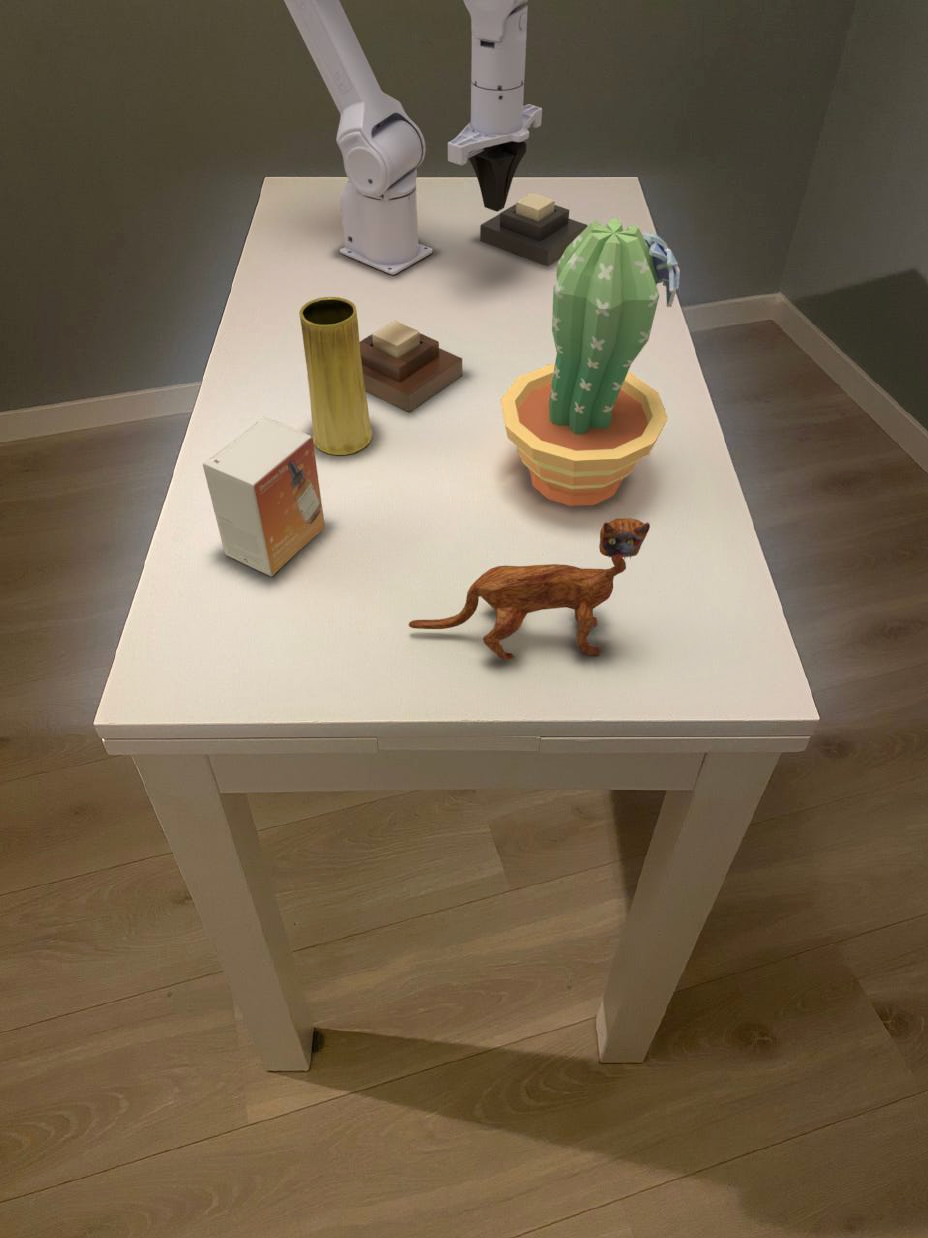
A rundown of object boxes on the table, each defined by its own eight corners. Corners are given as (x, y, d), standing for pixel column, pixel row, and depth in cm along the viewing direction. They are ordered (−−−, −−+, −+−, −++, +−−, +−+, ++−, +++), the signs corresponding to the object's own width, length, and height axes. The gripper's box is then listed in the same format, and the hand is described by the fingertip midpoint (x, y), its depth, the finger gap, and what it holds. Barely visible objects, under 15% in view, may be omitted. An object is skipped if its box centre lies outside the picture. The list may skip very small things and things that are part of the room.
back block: (479, 240, 124) (480, 211, 121) (520, 217, 129) (521, 187, 126) (547, 266, 120) (549, 236, 117) (586, 240, 125) (589, 211, 122)
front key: (373, 348, 100) (371, 333, 99) (395, 334, 102) (394, 319, 101) (398, 360, 99) (397, 345, 98) (420, 345, 101) (419, 331, 100)
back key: (515, 215, 122) (516, 201, 120) (531, 205, 124) (532, 192, 122) (537, 223, 120) (538, 209, 119) (553, 213, 122) (555, 199, 121)
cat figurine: (406, 664, 76) (398, 541, 66) (411, 605, 80) (403, 481, 70) (628, 668, 76) (654, 545, 65) (620, 608, 80) (644, 484, 70)
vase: (383, 428, 97) (373, 302, 86) (354, 462, 93) (340, 334, 82) (332, 414, 98) (316, 288, 88) (301, 446, 95) (281, 319, 84)
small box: (271, 579, 82) (252, 487, 74) (223, 555, 84) (199, 463, 76) (327, 527, 87) (314, 435, 79) (280, 505, 89) (263, 413, 81)
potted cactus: (650, 538, 86) (703, 285, 67) (484, 518, 88) (491, 265, 69) (657, 437, 96) (705, 192, 77) (509, 420, 98) (521, 177, 79)
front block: (334, 375, 103) (330, 343, 100) (388, 341, 108) (386, 309, 105) (409, 413, 99) (407, 380, 96) (462, 375, 103) (462, 343, 100)
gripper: (484, 109, 95) (482, 239, 105) (567, 71, 102) (557, 195, 112) (431, 93, 98) (434, 221, 108) (516, 56, 105) (511, 179, 115)
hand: (494, 207), depth 110 cm, fingers closed
